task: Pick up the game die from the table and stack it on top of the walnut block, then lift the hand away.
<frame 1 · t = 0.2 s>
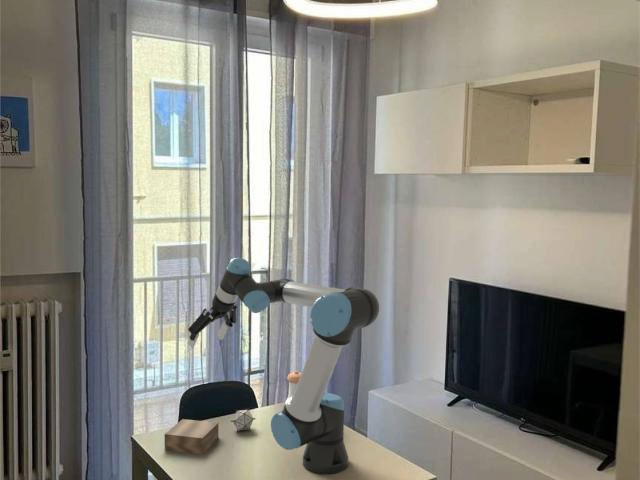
hand: (205, 341, 221), 35 cm above the table, tool tilted 35°, fingers open, 13 cm apart
walnut block: (192, 444, 216), on the table
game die: (243, 430, 229), on the table
salt shaker: (295, 419, 240), on the table
soda can: (309, 430, 230), on the table
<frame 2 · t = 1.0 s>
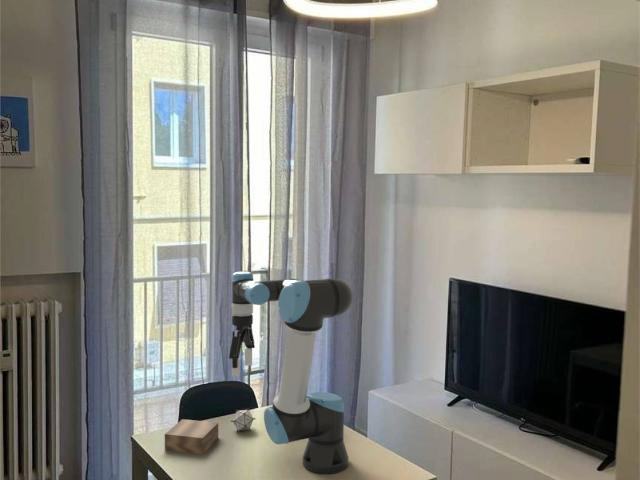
hand: (242, 370, 226), 23 cm above the table, tool pointing down, fingers open, 13 cm apart
nothing on the table moved.
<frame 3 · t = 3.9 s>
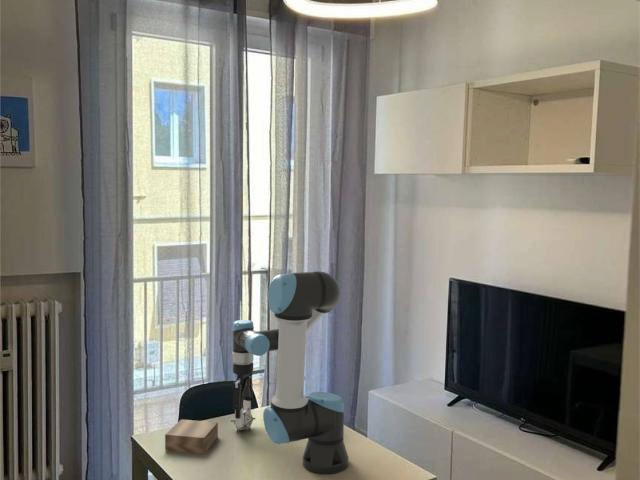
hand: (243, 421, 228), 3 cm above the table, tool pointing down, fingers closed on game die, 8 cm apart
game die: (243, 430, 229), on the table, touching gripper
everything else where it was.
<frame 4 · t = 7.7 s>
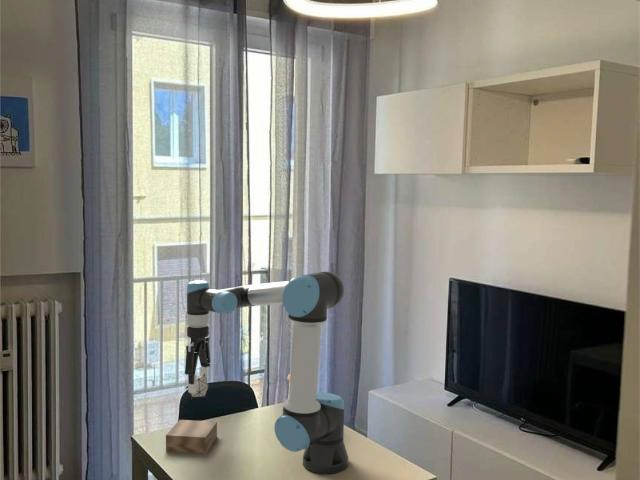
hand: (198, 388, 216), 19 cm above the table, tool pointing down, fingers closed on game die, 8 cm apart
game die: (198, 397, 216), point 16 cm above the table, touching gripper
everything else where it was.
when the fingers open (10 cm above the table, at t = 11.8 s): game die drops 1 cm, point 5 cm above the table.
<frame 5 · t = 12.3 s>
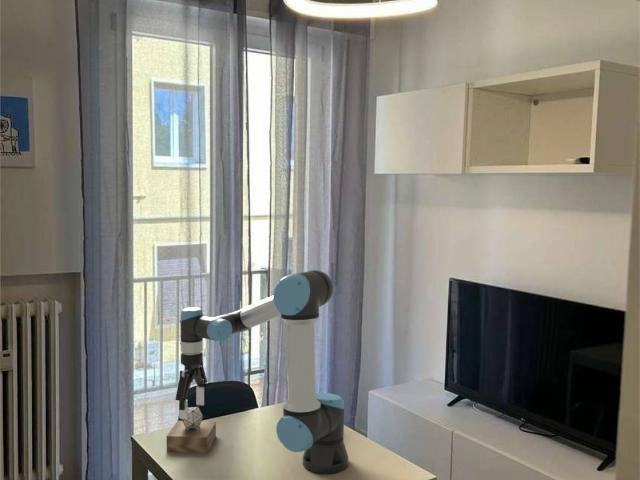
hand: (192, 411, 215), 12 cm above the table, tool pointing down, fingers open, 13 cm apart
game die: (192, 429, 216), point 5 cm above the table
everything else where it was.
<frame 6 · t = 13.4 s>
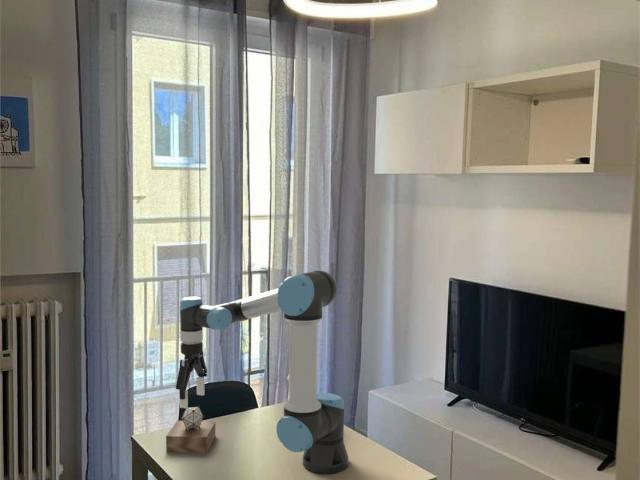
hand: (192, 401, 215), 15 cm above the table, tool pointing down, fingers open, 13 cm apart
walnut block: (191, 445, 216), on the table, touching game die
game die: (192, 429, 216), point 5 cm above the table, touching walnut block
everything else where it was.
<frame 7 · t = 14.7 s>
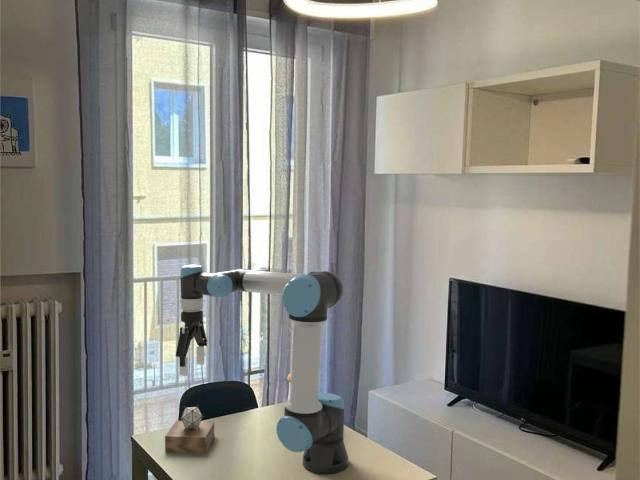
hand: (192, 369, 214), 27 cm above the table, tool pointing down, fingers open, 13 cm apart
nothing on the table moved.
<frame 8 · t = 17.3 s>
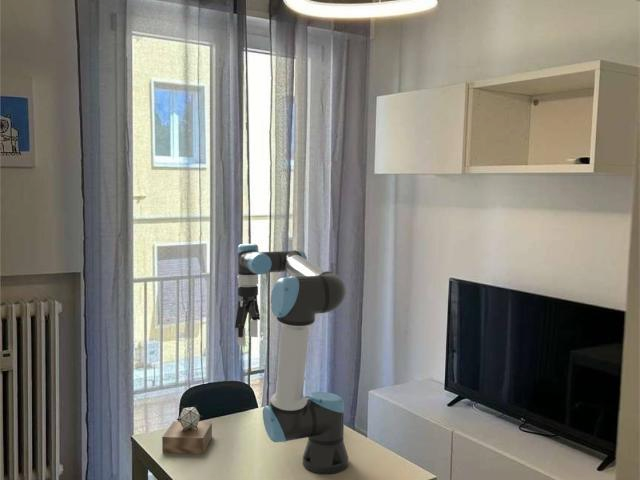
hand: (247, 341, 231), 33 cm above the table, tool pointing down, fingers open, 13 cm apart
walnut block: (187, 445, 215), on the table, touching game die
at the end: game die inside the target area on the walnut block (0.8 cm from its centre), point 5.8 cm above the walnut block's base; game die touching walnut block; the gripper is holding nothing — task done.
